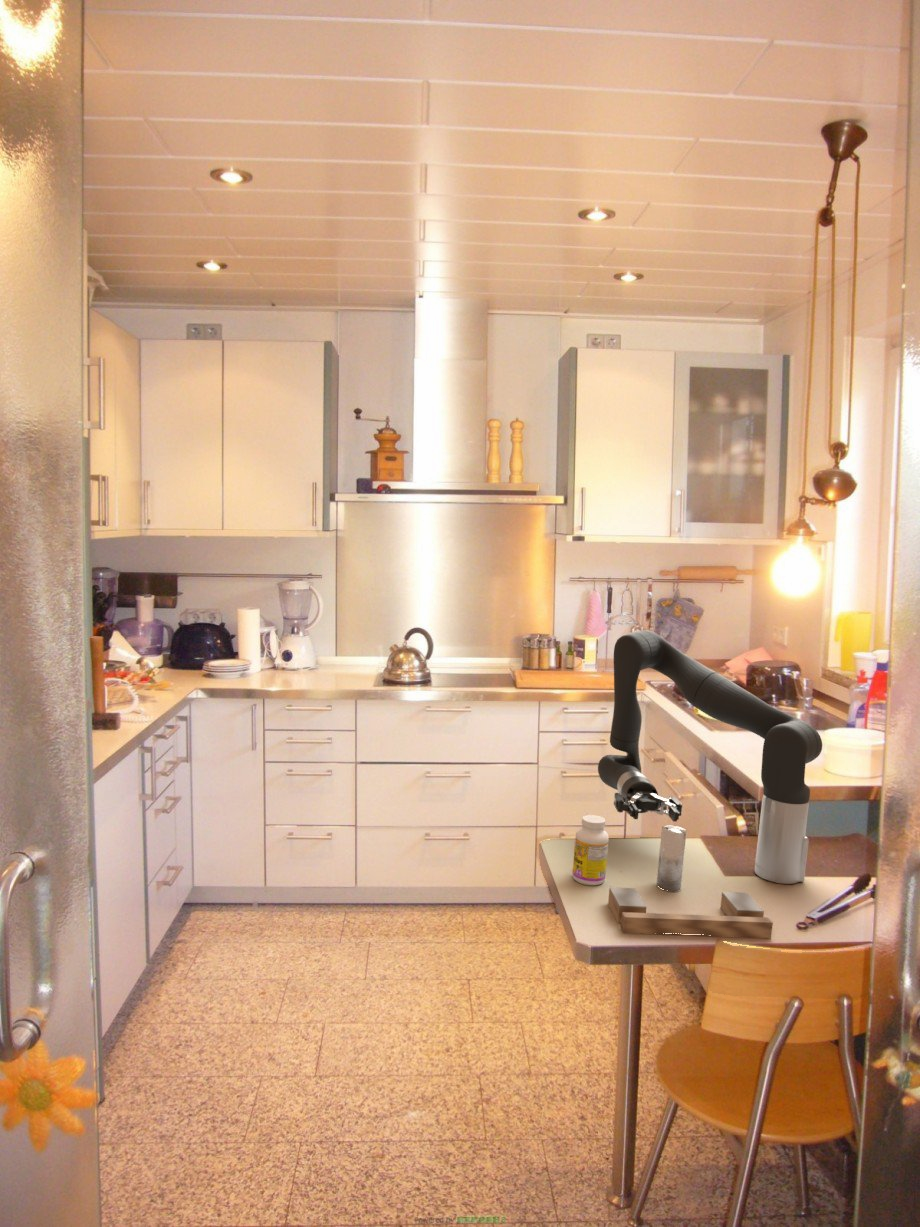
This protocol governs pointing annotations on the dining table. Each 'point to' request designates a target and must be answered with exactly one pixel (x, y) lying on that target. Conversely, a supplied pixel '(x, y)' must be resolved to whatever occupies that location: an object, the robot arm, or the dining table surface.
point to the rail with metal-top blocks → (691, 917)
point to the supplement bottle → (591, 851)
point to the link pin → (671, 858)
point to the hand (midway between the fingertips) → (656, 816)
